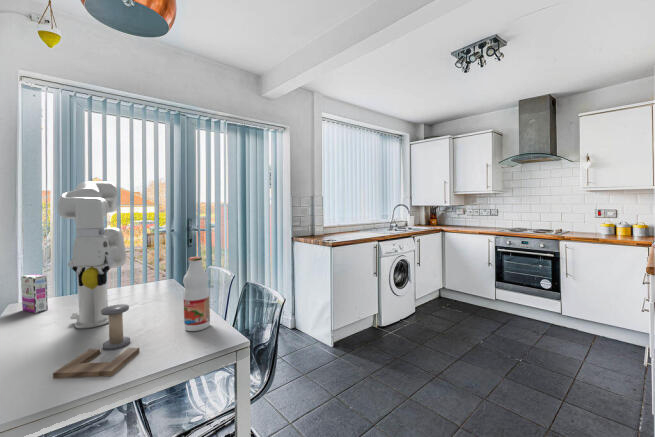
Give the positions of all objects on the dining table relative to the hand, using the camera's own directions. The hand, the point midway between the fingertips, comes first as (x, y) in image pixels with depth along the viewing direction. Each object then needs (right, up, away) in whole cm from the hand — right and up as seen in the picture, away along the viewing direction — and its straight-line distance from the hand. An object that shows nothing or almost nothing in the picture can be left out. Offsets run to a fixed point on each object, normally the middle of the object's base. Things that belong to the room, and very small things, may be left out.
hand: (92, 284), depth 105 cm
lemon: (0, -2, 0) cm, 2 cm away
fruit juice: (+30, -21, +15) cm, 39 cm away
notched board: (+12, -22, -12) cm, 28 cm away
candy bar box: (-55, -20, +36) cm, 68 cm away
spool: (+8, -21, +1) cm, 23 cm away
